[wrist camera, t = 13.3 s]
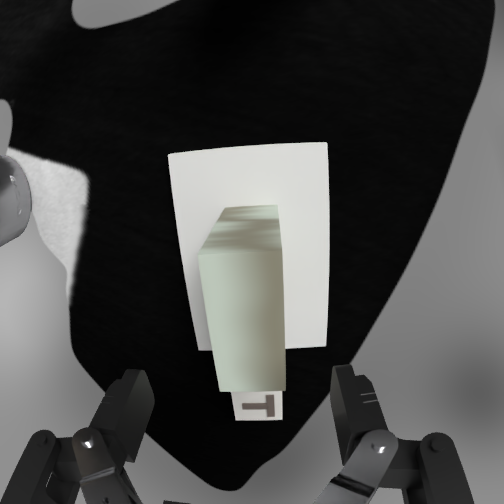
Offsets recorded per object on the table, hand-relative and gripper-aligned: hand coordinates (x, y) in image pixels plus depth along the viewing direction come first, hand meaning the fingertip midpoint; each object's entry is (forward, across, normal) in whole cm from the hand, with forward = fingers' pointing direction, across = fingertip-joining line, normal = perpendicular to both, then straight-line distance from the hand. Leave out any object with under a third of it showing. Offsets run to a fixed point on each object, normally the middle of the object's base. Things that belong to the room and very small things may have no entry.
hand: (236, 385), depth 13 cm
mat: (+15, 0, 0) cm, 15 cm away
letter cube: (+15, 0, +13) cm, 20 cm away
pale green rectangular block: (+14, 0, 0) cm, 14 cm away
